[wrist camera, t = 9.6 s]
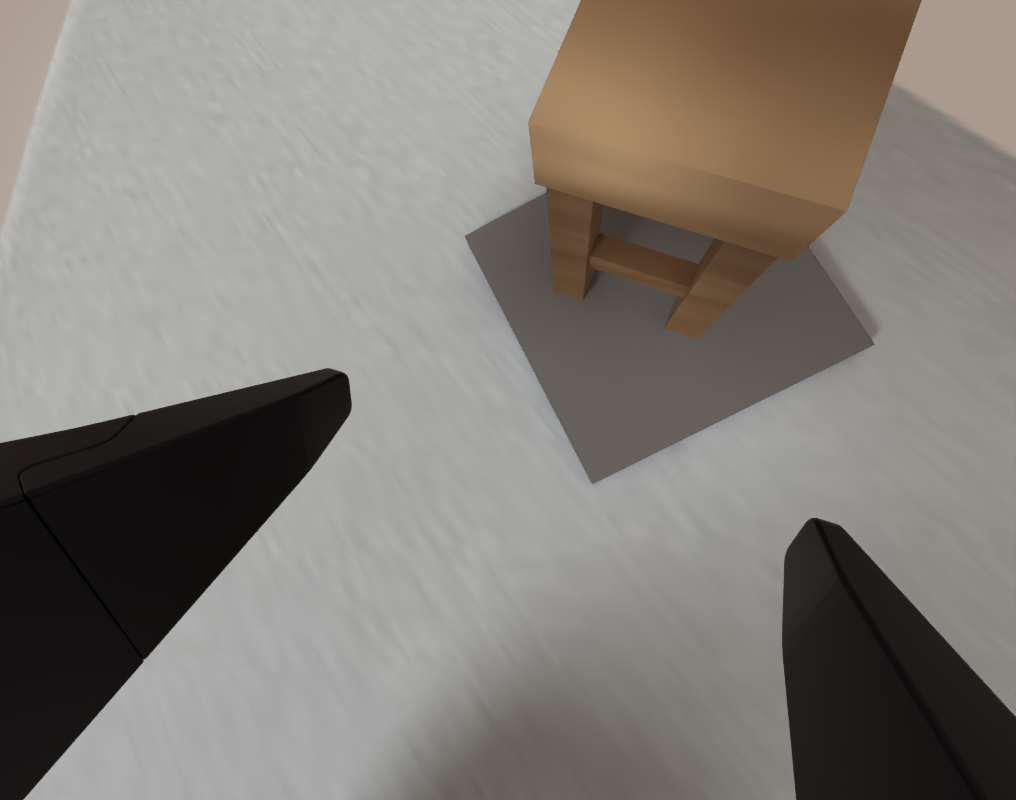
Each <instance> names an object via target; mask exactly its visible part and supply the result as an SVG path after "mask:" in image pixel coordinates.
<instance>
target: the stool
mask: <svg viewBox="0 0 1016 800" xmlns="http://www.w3.org/2000/svg"><path fill="white" fill-rule="evenodd" d="M920 3H921V0H581V2H580V4H579V6H578V8H577V11H576V13H575V15H574V18H573V20H572V22H571V25H570V27H569V29H568V32H567V34H566V36H565V38H564V41H563V43H562V45H561V48H560V50H559V52H558V55H557V57H556V59H555V62H554V64H553V66H552V68H551V71H550V73H549V75H548V78H547V80H546V82H545V85H544V87H543V89H542V92H541V94H540V96H539V99H538V101H537V103H536V105H535V108H534V110H533V112H532V115H531V117H530V119H529V122H528V123H529V133H530V142H531V151H532V160H533V169H534V179H535V184H537V185H541V186H544V187H547V201H548V215H549V230H550V244H551V259H552V273H553V288H554V291H557V292H560V293H563V294H566V295H569V296H572V297H575V298H578V299H581V300H583V299H584V296H585V294H586V291H587V289H588V286H589V284H590V281H591V279H592V276H593V274H594V270H595V269H597V270H600V271H603V272H606V273H609V274H612V275H615V276H618V277H621V278H625V279H628V280H631V281H634V282H637V283H640V284H643V285H646V286H649V287H652V288H655V289H658V290H661V291H664V292H667V293H670V294H673V295H676V296H677V297H676V299H675V301H674V304H673V306H672V309H671V312H670V314H669V317H668V319H667V322H666V325H665V327H664V328H665V329H668V330H671V331H674V332H677V333H679V334H682V335H685V336H688V337H691V338H694V339H697V338H698V337H699V336H700V335H701V334H702V333H703V332H704V331H705V330H706V329H707V328H708V327H709V326H710V325H711V324H712V323H713V322H714V321H715V320H716V319H717V318H718V317H719V316H720V315H721V314H722V313H723V312H724V311H725V310H726V309H727V308H728V307H729V306H730V305H731V304H732V303H733V302H734V301H735V300H736V299H737V298H738V297H739V296H740V295H741V294H742V293H743V292H744V291H745V290H746V289H747V288H748V287H749V286H750V285H751V284H752V283H753V282H754V281H755V280H756V279H757V278H758V277H759V276H760V275H761V274H762V273H763V272H764V271H765V270H766V269H767V268H768V267H769V266H770V265H771V264H772V263H773V262H774V261H775V260H776V259H777V258H781V259H784V260H787V261H791V262H792V261H793V260H794V259H795V258H796V257H797V256H798V255H799V254H800V253H801V252H803V251H804V250H805V249H806V248H807V247H808V246H809V245H810V244H811V243H812V242H813V241H815V240H816V239H817V238H818V237H819V236H820V235H821V234H822V233H823V232H824V231H825V230H827V229H828V228H829V227H830V226H831V225H832V224H833V223H834V222H835V221H836V220H837V219H839V218H840V217H841V216H842V215H843V214H844V213H845V212H846V211H847V209H848V206H849V203H850V200H851V197H852V194H853V192H854V189H855V186H856V183H857V180H858V178H859V175H860V172H861V169H862V166H863V163H864V161H865V158H866V155H867V152H868V149H869V147H870V144H871V141H872V138H873V135H874V132H875V130H876V127H877V124H878V121H879V118H880V116H881V113H882V110H883V107H884V104H885V101H886V99H887V96H888V93H889V90H890V87H891V85H892V82H893V79H894V76H895V73H896V70H897V68H898V65H899V62H900V59H901V56H902V54H903V51H904V48H905V45H906V42H907V39H908V37H909V33H910V31H911V28H912V25H913V22H914V20H915V17H916V14H917V11H918V8H919V6H920ZM604 205H606V206H610V207H613V208H616V209H620V210H623V211H626V212H629V213H633V214H636V215H639V216H643V217H646V218H649V219H652V220H656V221H659V222H662V223H666V224H669V225H672V226H675V227H679V228H682V229H685V230H689V231H692V232H695V233H698V234H702V235H705V236H708V237H712V238H714V240H713V242H712V243H711V245H710V246H709V248H708V249H707V251H706V252H705V254H704V256H703V257H702V259H701V260H700V262H699V263H698V264H697V263H693V262H690V261H687V260H684V259H681V258H678V257H674V256H671V255H668V254H665V253H662V252H658V251H655V250H652V249H649V248H646V247H643V246H639V245H636V244H633V243H630V242H627V241H624V240H620V239H617V238H614V237H611V236H608V235H605V234H601V233H600V229H601V222H602V215H603V208H604Z"/></svg>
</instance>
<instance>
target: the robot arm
mask: <svg viewBox="0 0 1016 800" xmlns="http://www.w3.org/2000/svg"><path fill="white" fill-rule="evenodd" d="M351 407H352V402H351V394H350V385H349V379H348V376H347V375H346V374H345V373H343V372H340V371H337V370H334V369H330V368H326V369H322V370H318V371H314V372H309V373H305V374H301V375H297V376H293V377H288V378H284V379H280V380H276V381H272V382H268V383H263V384H259V385H255V386H251V387H247V388H243V389H238V390H234V391H230V392H226V393H222V394H218V395H213V396H209V397H205V398H201V399H197V400H193V401H188V402H184V403H180V404H176V405H172V406H167V407H163V408H159V409H155V410H151V411H147V412H142V413H139V414H137V415H136V416H135V415H129V416H125V417H121V418H117V419H113V420H109V421H104V422H100V423H95V424H91V425H87V426H82V427H78V428H73V429H69V430H64V431H59V432H54V433H49V434H44V435H39V436H34V437H29V438H24V439H19V440H13V441H8V442H3V443H0V800H23V799H24V798H25V797H26V796H27V795H28V794H29V793H30V792H31V790H32V789H33V788H34V787H35V786H36V785H37V783H38V782H39V781H40V780H41V779H42V778H43V777H44V775H45V774H46V773H47V772H48V771H49V770H50V769H51V767H52V766H53V765H54V764H55V763H56V762H57V761H58V759H59V758H60V757H61V756H62V755H63V754H64V753H65V751H66V750H67V749H68V748H69V747H70V746H71V744H72V743H73V742H74V741H75V740H76V739H77V738H78V736H79V735H80V734H81V733H82V732H83V731H84V730H85V728H86V727H87V726H88V725H89V724H90V723H91V722H92V720H93V719H94V718H95V717H96V716H97V715H98V713H99V712H100V711H101V710H102V709H103V708H104V707H105V705H106V704H107V703H108V702H109V701H110V700H111V699H112V697H113V696H114V695H115V694H116V693H117V692H118V691H119V689H120V688H121V687H122V686H123V685H124V684H125V682H126V681H127V680H128V679H129V678H130V677H131V676H132V674H133V673H134V672H135V671H136V670H137V669H138V668H139V666H140V665H141V664H142V663H143V661H144V660H143V659H146V658H147V657H148V656H149V655H150V653H151V652H152V651H153V650H154V649H155V648H156V647H157V645H158V644H159V643H160V642H161V641H162V640H163V639H164V637H165V636H166V635H167V634H168V633H169V632H170V631H171V629H172V628H173V627H174V626H175V625H176V624H177V622H178V621H179V620H180V619H181V618H182V617H183V616H184V614H185V613H186V612H187V611H188V610H189V609H190V608H191V606H192V605H193V604H194V603H195V602H196V601H197V600H198V598H199V597H200V596H201V595H202V594H203V593H204V592H205V590H206V589H207V588H208V587H209V586H210V585H211V584H212V582H213V581H214V580H215V579H216V578H217V577H218V575H219V574H220V573H221V572H222V571H223V570H224V569H225V567H226V566H227V565H228V564H229V563H230V562H231V561H232V559H233V558H234V557H235V556H236V555H237V554H238V553H239V551H240V550H241V549H242V548H243V547H244V546H245V545H246V543H247V542H248V541H249V540H250V539H251V538H252V537H253V535H254V534H255V533H256V532H257V531H258V530H259V528H260V527H261V526H262V525H263V524H264V523H265V522H266V520H267V519H268V518H269V517H270V516H271V515H272V514H273V512H274V511H275V510H276V509H277V508H278V507H279V506H280V504H281V503H282V502H283V501H284V500H285V499H286V498H287V496H288V495H289V494H290V493H291V492H292V491H293V490H294V488H295V487H296V486H297V485H298V484H299V483H300V481H301V480H302V479H303V478H304V477H305V476H306V474H307V473H308V472H309V471H310V470H311V468H312V467H313V466H314V464H315V463H316V462H317V460H318V459H319V457H320V456H321V455H322V453H323V452H324V450H325V449H326V447H327V446H328V445H329V443H330V442H331V440H332V439H333V437H334V436H335V435H336V433H337V432H338V430H339V429H340V428H341V426H342V425H343V423H344V422H345V420H346V419H347V418H348V416H349V414H350V412H351ZM782 650H783V664H784V674H785V685H786V695H787V706H788V717H789V727H790V738H791V749H792V759H793V770H794V780H795V791H796V800H1016V717H1015V715H1014V714H1013V713H1012V712H1011V711H1010V710H1009V709H1008V708H1007V707H1006V706H1005V705H1004V703H1003V702H1002V701H1001V700H1000V699H999V698H998V697H997V696H996V695H995V694H994V692H993V691H992V690H991V689H990V688H989V687H988V686H987V685H986V684H985V683H984V682H983V680H982V679H981V678H980V677H979V676H978V675H977V674H976V673H975V672H974V671H973V670H972V668H971V667H970V666H969V665H968V664H967V663H966V662H965V661H964V660H963V659H962V658H961V656H960V655H959V654H958V653H957V652H956V651H955V650H954V649H953V648H952V647H951V646H950V644H949V643H948V642H947V641H946V640H945V639H944V638H943V637H942V636H941V635H940V633H939V632H938V631H937V630H936V629H935V628H934V627H933V626H932V625H931V624H930V623H929V621H928V620H927V619H926V618H925V617H924V616H923V615H922V614H921V613H920V612H919V611H918V609H917V608H916V607H915V606H914V605H913V604H912V603H911V602H910V601H909V600H908V599H907V597H906V596H905V595H904V594H903V593H902V592H901V591H900V590H899V589H898V588H897V586H896V585H895V584H894V583H893V582H892V581H891V580H890V579H889V578H888V577H887V576H886V574H885V573H884V572H883V571H882V570H881V569H880V568H879V567H878V566H877V565H876V564H875V562H874V561H873V560H872V559H871V558H870V557H869V556H868V555H867V554H866V553H865V552H864V550H863V549H862V548H861V547H860V546H859V545H858V544H857V543H856V542H855V541H854V540H853V538H852V537H851V536H850V535H849V534H848V533H847V532H846V531H845V530H844V529H843V528H842V527H841V526H840V525H838V524H835V523H832V522H828V521H825V520H822V519H818V518H811V519H809V520H808V521H807V522H806V523H805V525H804V526H803V527H802V529H801V530H800V532H799V533H798V534H797V536H796V537H795V539H794V540H793V541H792V543H791V544H790V546H789V547H788V549H787V551H786V555H785V561H784V590H783V621H782Z"/></svg>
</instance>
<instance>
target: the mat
mask: <svg viewBox="0 0 1016 800" xmlns="http://www.w3.org/2000/svg"><path fill="white" fill-rule="evenodd" d="M600 233H601V234H605V235H608V236H611V237H614V238H617V239H620V240H624V241H627V242H630V243H633V244H636V245H639V246H643V247H646V248H649V249H652V250H655V251H658V252H662V253H665V254H668V255H671V256H674V257H678V258H681V259H684V260H687V261H690V262H693V263H697V264H698V263H699V262H700V260H701V259H702V257H703V256H704V254H705V252H706V251H707V249H708V248H709V246H710V245H711V243H712V242H713V240H714V238H712V237H708V236H705V235H702V234H698V233H695V232H692V231H689V230H685V229H682V228H679V227H675V226H672V225H669V224H666V223H662V222H659V221H656V220H652V219H649V218H646V217H643V216H639V215H636V214H633V213H629V212H626V211H623V210H620V209H616V208H613V207H610V206H606V205H604V208H603V215H602V222H601V229H600ZM465 238H466V240H467V242H468V244H469V246H470V248H471V250H472V252H473V254H474V256H475V258H476V260H477V262H478V264H479V266H480V268H481V270H482V272H483V273H484V275H485V277H486V279H487V281H488V283H489V285H490V287H491V289H492V291H493V293H494V295H495V297H496V299H497V301H498V303H499V304H500V306H501V308H502V310H503V312H504V314H505V316H506V318H507V320H508V322H509V324H510V326H511V328H512V330H513V332H514V334H515V335H516V337H517V339H518V341H519V343H520V345H521V347H522V349H523V351H524V353H525V355H526V357H527V359H528V361H529V363H530V365H531V367H532V368H533V370H534V372H535V374H536V376H537V378H538V380H539V382H540V384H541V386H542V388H543V390H544V392H545V394H546V396H547V398H548V399H549V401H550V403H551V405H552V407H553V409H554V411H555V413H556V415H557V417H558V419H559V421H560V423H561V425H562V427H563V429H564V430H565V432H566V434H567V436H568V438H569V440H570V442H571V444H572V446H573V448H574V450H575V452H576V454H577V456H578V458H579V460H580V461H581V463H582V465H583V467H584V469H585V471H586V473H587V475H588V477H589V479H590V481H591V483H592V484H593V483H595V482H597V481H599V480H601V479H603V478H605V477H608V476H610V475H612V474H614V473H616V472H618V471H620V470H622V469H624V468H626V467H628V466H630V465H632V464H634V463H636V462H638V461H640V460H642V459H644V458H646V457H648V456H650V455H652V454H654V453H656V452H658V451H660V450H662V449H664V448H666V447H668V446H670V445H672V444H674V443H676V442H678V441H680V440H682V439H684V438H686V437H688V436H690V435H693V434H695V433H697V432H699V431H701V430H703V429H705V428H707V427H709V426H711V425H713V424H715V423H717V422H719V421H721V420H723V419H725V418H727V417H729V416H731V415H733V414H735V413H737V412H739V411H741V410H743V409H745V408H747V407H749V406H751V405H753V404H755V403H757V402H759V401H761V400H763V399H765V398H767V397H769V396H771V395H773V394H775V393H778V392H780V391H782V390H784V389H786V388H788V387H790V386H792V385H794V384H796V383H798V382H800V381H802V380H804V379H806V378H808V377H810V376H812V375H814V374H816V373H818V372H820V371H822V370H824V369H826V368H828V367H830V366H832V365H834V364H836V363H838V362H840V361H842V360H844V359H846V358H848V357H850V356H852V355H854V354H856V353H858V352H860V351H862V350H865V349H867V348H869V347H871V346H873V345H875V344H874V342H873V341H872V339H871V338H870V336H869V335H868V334H867V332H866V331H865V329H864V328H863V326H862V325H861V323H860V322H859V320H858V319H857V317H856V316H855V314H854V313H853V312H852V310H851V309H850V307H849V306H848V304H847V303H846V301H845V300H844V298H843V297H842V295H841V294H840V293H839V291H838V290H837V288H836V287H835V285H834V284H833V282H832V281H831V279H830V278H829V276H828V275H827V274H826V272H825V271H824V269H823V268H822V266H821V265H820V263H819V262H818V260H817V259H816V257H815V256H814V254H813V253H812V252H811V250H810V249H809V247H807V248H806V249H805V250H804V251H803V252H801V253H800V254H799V255H798V256H797V257H796V258H795V259H794V260H793V261H792V262H791V261H787V260H784V259H781V258H777V259H776V260H775V261H774V262H773V263H772V264H771V265H770V266H769V267H768V268H767V269H766V270H765V271H764V272H763V273H762V274H761V275H760V276H759V277H758V278H757V279H756V280H755V281H754V282H753V283H752V284H751V285H750V286H749V287H748V288H747V289H746V290H745V291H744V292H743V293H742V294H741V295H740V296H739V297H738V298H737V299H736V300H735V301H734V302H733V303H732V304H731V305H730V306H729V307H728V308H727V309H726V310H725V311H724V312H723V313H722V314H721V315H720V316H719V317H718V318H717V319H716V320H715V321H714V322H713V323H712V324H711V325H710V326H709V327H708V328H707V329H706V330H705V331H704V332H703V333H702V334H701V335H700V336H699V337H698V338H697V339H694V338H691V337H688V336H685V335H682V334H679V333H677V332H674V331H671V330H668V329H665V328H664V327H665V325H666V322H667V319H668V317H669V314H670V312H671V309H672V306H673V304H674V301H675V299H676V297H677V296H676V295H673V294H670V293H667V292H664V291H661V290H658V289H655V288H652V287H649V286H646V285H643V284H640V283H637V282H634V281H631V280H628V279H625V278H621V277H618V276H615V275H612V274H609V273H606V272H603V271H600V270H597V269H595V270H594V274H593V276H592V279H591V281H590V284H589V286H588V289H587V291H586V294H585V296H584V299H583V300H581V299H578V298H575V297H572V296H569V295H566V294H563V293H560V292H557V291H554V288H553V273H552V259H551V244H550V230H549V215H548V201H547V193H545V194H543V195H542V196H540V197H538V198H536V199H534V200H532V201H530V202H528V203H526V204H524V205H523V206H521V207H519V208H517V209H515V210H513V211H511V212H509V213H507V214H506V215H504V216H502V217H500V218H498V219H496V220H494V221H492V222H490V223H489V224H487V225H485V226H483V227H481V228H479V229H477V230H475V231H473V232H472V233H470V234H468V235H466V236H465Z"/></svg>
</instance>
